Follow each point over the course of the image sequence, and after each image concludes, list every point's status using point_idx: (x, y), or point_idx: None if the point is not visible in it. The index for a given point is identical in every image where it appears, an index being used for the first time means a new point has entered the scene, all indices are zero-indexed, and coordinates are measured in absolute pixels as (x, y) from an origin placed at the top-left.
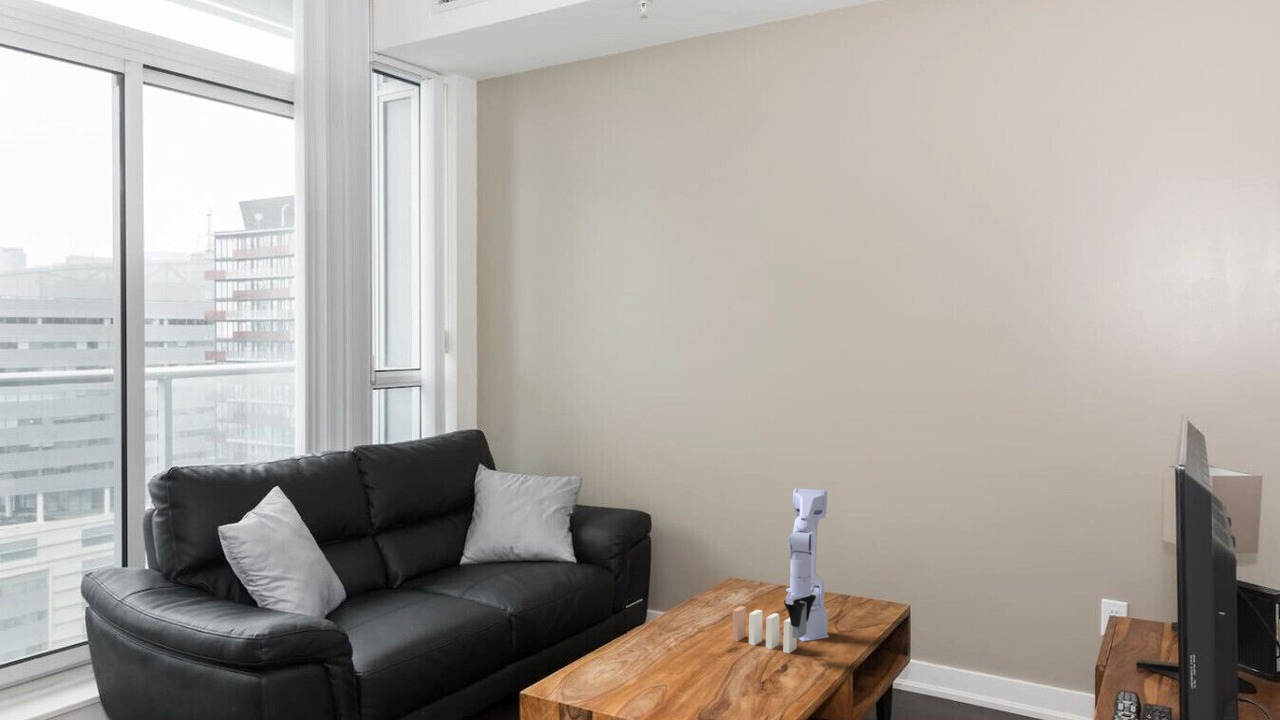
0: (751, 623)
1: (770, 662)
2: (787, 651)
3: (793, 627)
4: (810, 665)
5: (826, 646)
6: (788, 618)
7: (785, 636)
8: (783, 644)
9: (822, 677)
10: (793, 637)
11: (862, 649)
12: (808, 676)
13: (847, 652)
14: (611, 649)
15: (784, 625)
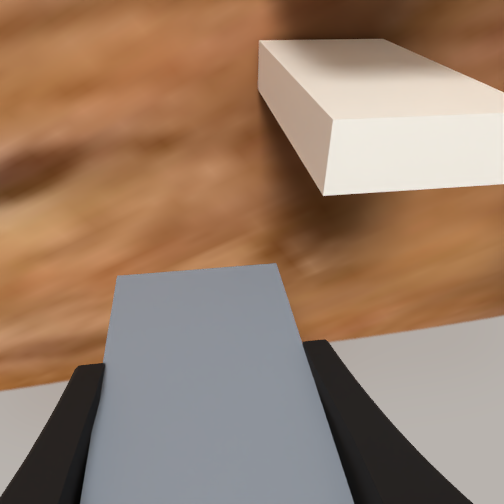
0: None
1: (15, 54)
2: (259, 80)
3: (107, 352)
4: (169, 262)
5: (479, 200)
6: (456, 120)
7: (284, 92)
8: (271, 53)
9: (73, 354)
10: (118, 283)
11: (484, 318)
12: (27, 316)
13: (427, 296)
14: None
15: (314, 113)
